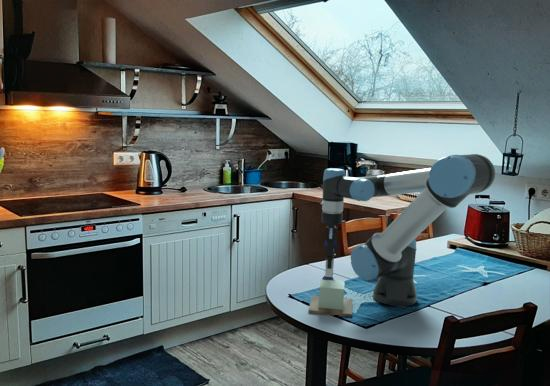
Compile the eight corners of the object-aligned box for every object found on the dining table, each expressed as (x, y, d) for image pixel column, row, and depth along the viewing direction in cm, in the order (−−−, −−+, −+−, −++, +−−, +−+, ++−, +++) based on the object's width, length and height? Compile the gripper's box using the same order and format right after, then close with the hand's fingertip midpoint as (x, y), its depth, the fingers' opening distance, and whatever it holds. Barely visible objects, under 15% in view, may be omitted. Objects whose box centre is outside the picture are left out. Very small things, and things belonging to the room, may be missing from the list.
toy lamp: (327, 277, 202) (329, 233, 199) (337, 280, 199) (340, 235, 196) (319, 280, 198) (321, 235, 196) (330, 283, 195) (332, 238, 193)
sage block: (343, 301, 186) (344, 281, 185) (342, 309, 178) (344, 289, 177) (319, 299, 187) (320, 279, 186) (318, 307, 179) (319, 287, 178)
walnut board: (351, 301, 189) (352, 298, 188) (352, 317, 175) (352, 314, 175) (311, 297, 190) (311, 295, 190) (308, 313, 177) (308, 310, 177)
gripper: (322, 207, 203) (320, 268, 207) (320, 215, 187) (317, 281, 191) (343, 208, 202) (339, 269, 206) (342, 216, 186) (338, 282, 190)
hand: (329, 275), depth 198 cm, fingers closed on toy lamp, 3 cm apart
